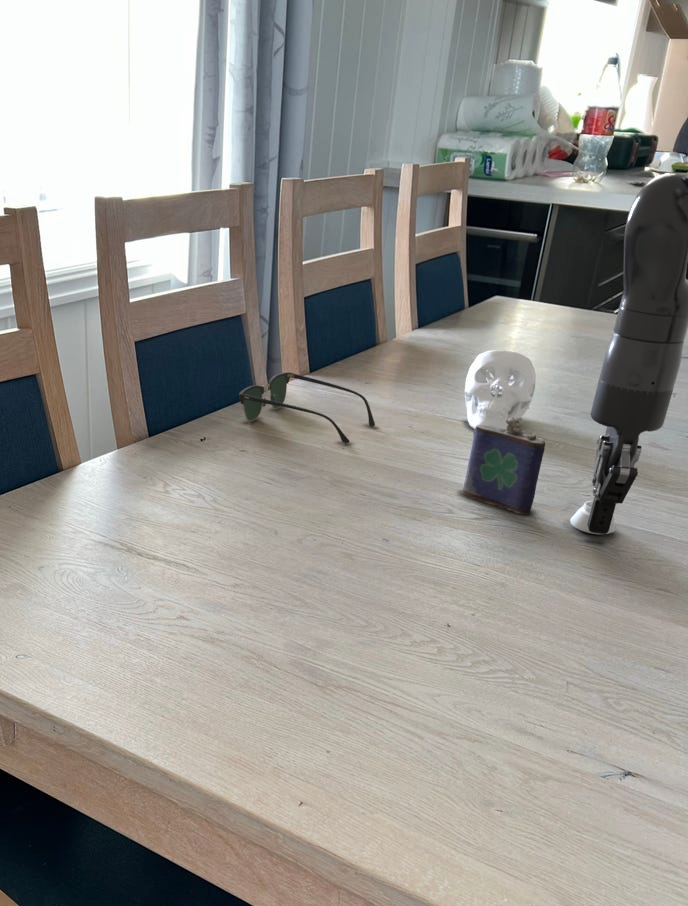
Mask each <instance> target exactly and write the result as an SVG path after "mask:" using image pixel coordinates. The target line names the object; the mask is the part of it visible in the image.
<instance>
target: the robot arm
mask: <svg viewBox="0 0 688 906" xmlns="http://www.w3.org/2000/svg"><path fill="white" fill-rule="evenodd" d="M625 223H626V224H625V227H624V228H625V229H624V235H623V237H624V238H623V263H622V264H623V266H622V267H623V268H622V274H623V275H622V276H623V277H622V278H623V292H622V296H621V299H620V303H619V306H618V310H617V315H616V319H615V322H614V328H613V332H612V334H611V337H610V340H609V342H608V345H607V348H606V349H605V354H604V357H603V361H602V365H601V369H600V373H599V378H598V381H597V385H596V390H595V394H594V396H593V397H594V398H593V401H592V406H591V410H590V417H591V419H592V421H594V422H595V423H597V424H599V425H601V426H604V427H606V430H605V434H600V435H599V437H598V439H597V441H596V445H597V446H596V455H595V462H594V467H593V468H594V469H593V478H592V480H591V483H592V487H594V488H592V497H593V500H592V501H593V504H592V508H591V512H590V516H589V519H588V523H587V525H588V528H589V531H590V532H593V533H601V534H602V535H607V534H606V533H608V531H609V528H610V524H611V521H612V517H614V514H615V510H616V505H618V504H620V505H621V504H623V502H624V500H626V499H625V498H626V497H627V495H628V493H629V491H630V489H631V488H632V486H633V484H634V483H635V480H636V479H637V477H638V474H639V472H638V468H637V467H635V465H636V463H638V462H639V460H640V456H641V453H642V445H640V444H639V441H640V435H641V434H642V433H644V432H655V431H658V430H660V429H661V428H663V426H664V424H665V421H666V416H667V414H668V409H669V406H670V403H671V399H672V397H673V396H672V395H673V393H674V388H675V385H676V381H677V378H678V374H679V371H680V367H681V363H682V356H683V349H684V343H685V340H686V336H687V332H688V279H687V277H686V276H687V269H688V171H687V172H667V173H663V174H660V175H657V176H655V177H653V178H651V179H650V180H649V181H648V182H647V183H646V184H644V185H643V186H642V187H641V189H640V190H639V192H638V193H637V195H636V196H635V198H634V200H633V202H632V204H631V206H630V209H629V212H628V214H627V218H626V222H625Z"/></svg>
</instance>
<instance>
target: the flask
mask: <svg viewBox="0 0 688 906" xmlns="http://www.w3.org/2000/svg"><path fill="white" fill-rule="evenodd" d="M520 421H523V418H522V417H521V418H516V419H515V418H514V417H513V418H512V419H510V420H508V419H506V423H507V424H508V425H507V429H504V428H500V427H496V426H493V425H486V424H479V425H477V426H476V427H475V429H474V430H473V437H472V443H471V448H470V454H469V458H468V463H467V469H466V474H465V477H464V481H463V487H462V494H463V495H466V497H468V498H470V499H476V500H478V501H481V502H483V503H486V504H488V505H494V506H498V507H499V508H503V509H506V510H508V511H512V512H514V513H515V514H522V515H528V514H531V511H532V507H533V503H534V499H535V496H536V490H537V485H538V480H539V474H540V471H541V466H542V462H543V457H544V453H545V449H546V448H545V447H546V442H545V440H544V439H543V438H540V437H537V435H536V433H532V432H529V434H528V433H527V431H525V430H524V428H523V426H521V425H519V423H520Z"/></svg>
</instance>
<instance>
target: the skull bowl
mask: <svg viewBox="0 0 688 906" xmlns="http://www.w3.org/2000/svg"><path fill="white" fill-rule="evenodd" d="M536 372H537V371H536V369H535V368H534V365H533V363H532V360H531V359H530V358H529V357H528V356H526V355H524V354H522V353H520V352H518V351H512V350H504V349H492V350H488V351H484V352H482V353H480V354H479V355H477V356H476V358H475V359H474V361H473V363H471V365H470V367H469V370H468V372H467V375H466V379H465V387H464V400H465V408H466V413H467V414H466V415H467V422H468V424H469V426H470V427H471V428H472V429H474V430H475V427H476V426H477V425H479V424H486V425H493V426H496V427H500V428H504V429H507V425H508V424H507V423H506V419H508V420H510V419H512V418H513V417H514V418H515V419H516V418H522V417H523V416H524V415H525V414H526V413H527V411H528V410H529V409H530V406H531V403H532V401H533V397H534V393H535V390H536V383H537V382H536V381H537V373H536Z"/></svg>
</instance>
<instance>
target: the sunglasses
mask: <svg viewBox="0 0 688 906" xmlns="http://www.w3.org/2000/svg"><path fill="white" fill-rule="evenodd" d="M290 379H296V380H301V381H305V382H310V383H312V384H313V383H314V384H318V385H321V386H325V387H330V388H333V389H338V390H341V391H343V392H344V391H345V392H348V393H351V394H354V395H355V396H357V397H359V398H360V399H361V400H363V402H364V404H365V408H366V411H367V416H368V426H370V427H371V428H374V427H375V426H376V422H375V420H374V416H373V414H372V413H373V412H372V410H371V407H370V404H369V402H368V399H366V397H365V396H363V394H361V393H359V392H357V391H356V390H352V389H350V388H347V387H344V386H341V385H338V384H334V383H330V382H327V381H324V380H320V379H317V378H312V377H309V376H306V375H301V374H297V373H294V372H291V371H285V372H280V373H278V374H275V375H274V376H272V377H271V378H270V379H269V381H268V383H265V384H263V385H250V386H248V387H246V388H244V389H243V390H241V391H240V392H239V393H238V397H239V401H240V402H239V403H240V404H241V405H242V408H243V413H244V416H245V419H246V420H247V421H248V422H253V421H255V420H257V418H259V416H260V415H261V412H262V408H264V407H266V404H267V405H271V407H272V408H273V410H277V409H279V408H285V409H291V410H296V411H299V412H304V413H308V414H313V415H317V416H320V417H322V418H324V419H326V420H328V421H329V422H330V423H331V424H332V425H333V427H334V428H335V430H336V431H337V434H338V435H339V439H340V440H341V442H342V443H344V444H349V443H350V439H349V438H348V437H347V436H346V434H345V433H343V431H342V430H341V428H340V427H339V426H338V425H337V424H336V422H335V421H334V420H333V419H332V418H330V416H327V415H326V414H323V413H321V412H317V411H315V410H311V409H308V408H304V407H300V406H297V405H292V404H288V403H285V400H286V397H287V388H288V387H287V386H288V384H289V383H290ZM265 388H268V391H269V398H270V399H267V398H265V397H264V398H263V395H264V393H265Z"/></svg>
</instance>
